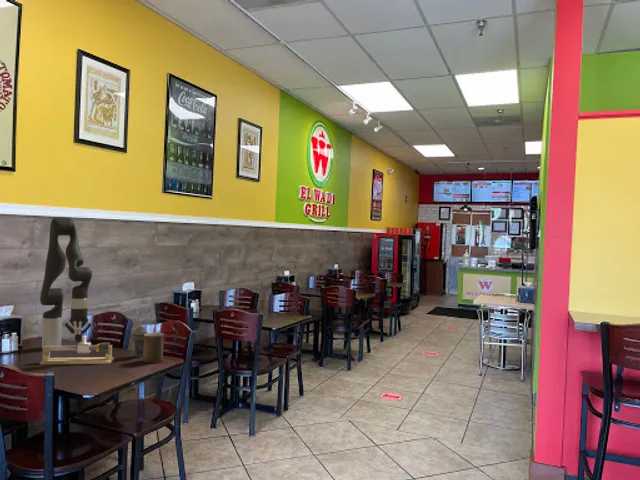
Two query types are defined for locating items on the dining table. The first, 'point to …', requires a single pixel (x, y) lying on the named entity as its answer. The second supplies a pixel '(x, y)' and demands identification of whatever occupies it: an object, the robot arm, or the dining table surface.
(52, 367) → the dining table surface
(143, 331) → the beverage cup
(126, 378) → the dining table surface
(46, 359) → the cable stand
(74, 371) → the dining table surface
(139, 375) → the dining table surface
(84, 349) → the white slider block
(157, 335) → the pillar candle
